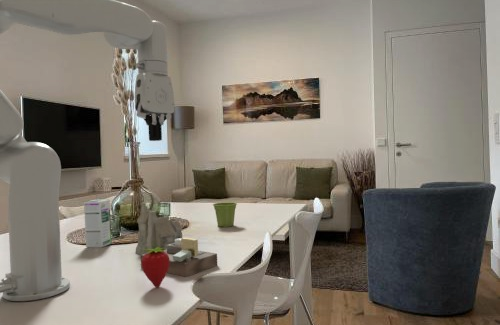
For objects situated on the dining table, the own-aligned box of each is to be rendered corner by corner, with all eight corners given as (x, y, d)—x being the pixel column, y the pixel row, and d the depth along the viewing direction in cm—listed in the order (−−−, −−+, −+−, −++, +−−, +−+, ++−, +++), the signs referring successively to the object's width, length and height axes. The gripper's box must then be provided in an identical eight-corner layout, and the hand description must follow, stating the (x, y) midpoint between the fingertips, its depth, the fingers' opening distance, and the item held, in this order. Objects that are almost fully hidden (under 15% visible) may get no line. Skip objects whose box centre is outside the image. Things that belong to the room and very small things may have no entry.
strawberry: (139, 294, 83) (137, 245, 83) (144, 282, 91) (143, 237, 90) (169, 292, 84) (167, 243, 84) (171, 280, 91) (170, 236, 91)
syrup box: (102, 247, 126) (100, 201, 126) (85, 247, 128) (83, 201, 127) (112, 243, 132) (110, 198, 132) (95, 243, 133) (94, 199, 133)
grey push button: (181, 251, 104) (180, 241, 104) (172, 249, 106) (172, 239, 106) (189, 248, 107) (189, 238, 107) (181, 247, 109) (181, 237, 109)
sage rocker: (181, 261, 95) (180, 256, 95) (173, 260, 97) (172, 255, 96) (191, 255, 98) (190, 250, 98) (184, 254, 99) (183, 249, 99)
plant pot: (210, 225, 161) (209, 203, 160) (232, 222, 165) (231, 201, 164) (218, 229, 152) (217, 205, 152) (241, 226, 156) (240, 203, 156)
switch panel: (186, 276, 94) (185, 256, 94) (141, 266, 103) (140, 248, 103) (217, 265, 103) (216, 246, 103) (173, 257, 112) (172, 239, 112)
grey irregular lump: (148, 259, 110) (149, 203, 111) (128, 251, 123) (129, 201, 124) (199, 253, 119) (200, 202, 120) (175, 246, 132) (176, 200, 133)
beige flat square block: (194, 256, 98) (194, 240, 98) (181, 254, 101) (181, 238, 101) (198, 255, 99) (197, 239, 99) (185, 253, 102) (184, 237, 102)
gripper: (139, 63, 99) (141, 139, 99) (183, 72, 111) (186, 140, 111) (120, 68, 103) (122, 141, 104) (165, 76, 115) (167, 141, 116)
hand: (155, 140), depth 107 cm, fingers closed
